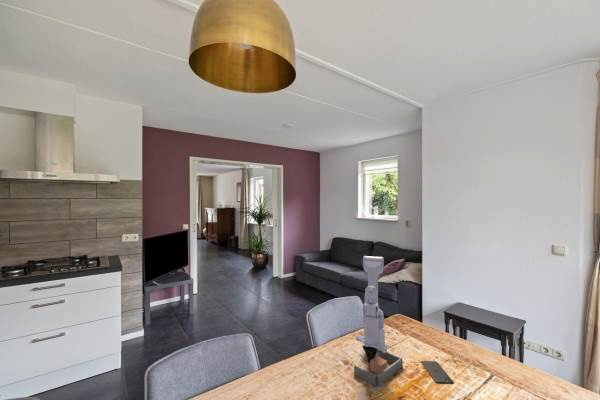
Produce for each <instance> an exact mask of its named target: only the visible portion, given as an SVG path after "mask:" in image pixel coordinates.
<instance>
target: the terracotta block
mask: <svg viewBox="0 0 600 400" xmlns="http://www.w3.org/2000/svg"><path fill="white" fill-rule="evenodd" d="M369 366H370V367H369V369H370V371H372V373H376V375H378V374H380V373H381V372H382V371H384V370H385V369H386V368H388V361H387V360H385V359H383V358H381V357H379V356H378V355H375V358H373V359H372V360H370V364H369Z"/></svg>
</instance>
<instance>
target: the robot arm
mask: <svg viewBox="0 0 600 400" xmlns="http://www.w3.org/2000/svg"><path fill="white" fill-rule="evenodd" d="M384 259H385V258H384V257H383V256H371V255H370V256H369V255H368V256H367V255H364V256H363V257H362V268H363V270H364V272H365V273H367V286H366V287H365V289H364V301H363V304H362V316H363V317H362V325H363V335H360V334H357V335H355V341H357V342H361V343H363V344H362V345H361V346H362V349H363V350H364V353H365V356H366V358H367V363H368V364H369V365H370V360H372V359H373V358H375V357H376V356H377V355H376V354H377V353H378V352H379V350H380V351H382V352H383V353H386V352H388V346H387V344H386V342H385V341H386V340H385V338H386V335H385V334H386V333H385V326H384V325H385V317H384V312H383V311H382V309H380V307H379V306H380V305H379V275H382V274H383V272H384V266H385V265H384Z"/></svg>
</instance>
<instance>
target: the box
mask: <svg viewBox="0 0 600 400" xmlns="http://www.w3.org/2000/svg"><path fill="white" fill-rule="evenodd" d="M378 355H379V356H378V357H380V358H382V359H384V360H386V361H387V362H389V363H391V365H388V366H387V368H386V369H385V370H384V371H382V372H381V373H380V374H376V375H375V374H374V373H373V372H370V371H368V370H366V369H365V368H362V367H361V366H359V365H357V364H354V366H353V367H354V368H353V370H354V371H353V375H356V376H357V377H359V378H361V379H362V380H364V381H366V382H368V383H369V384H371V385H373V386H375V387H376V388H378V387H379V386H380V385H381V384H383V383H384V382H385V381H387V380H388V379H389V378H390V377H392V376H393V375H394V374H395V373H397V372H398V371H399V370H400V369H401V368H403V358H402V357H400V356H398V355H395V354H393V353H391V352H389V351H387V352H386V353H383V352H382V351H380V350H379V351H378Z"/></svg>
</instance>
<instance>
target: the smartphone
mask: <svg viewBox="0 0 600 400" xmlns="http://www.w3.org/2000/svg"><path fill="white" fill-rule="evenodd" d="M420 363H421V365H422V366H423V367H424V369H425V371H426V372H427V373H428V375H429V376H430V377H431V379H432V380H433V381H434V383H436V384H441V385H443V384H445V385H453V384H454V385H455V381H453V379H452V378H451V377H450V375H449V374H448V373H447V372H446V371H445V369H444V368H443V367H442V365H440V363H439V362H438V361H434V360H422V361H420Z"/></svg>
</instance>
